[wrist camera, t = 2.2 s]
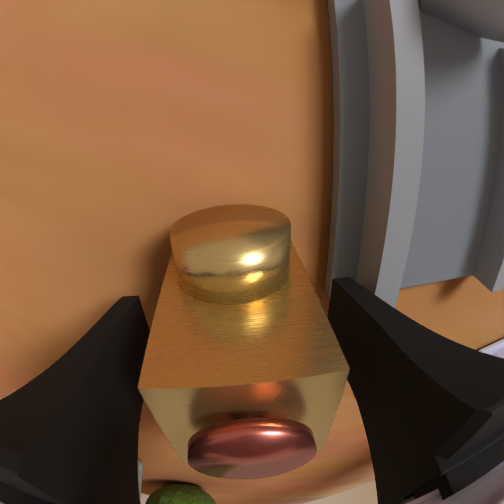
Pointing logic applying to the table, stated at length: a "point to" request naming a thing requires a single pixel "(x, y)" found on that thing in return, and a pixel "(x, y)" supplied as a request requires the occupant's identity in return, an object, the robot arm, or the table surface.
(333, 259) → the grey piece
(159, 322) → the valve
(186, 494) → the avocado
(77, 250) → the table surface
